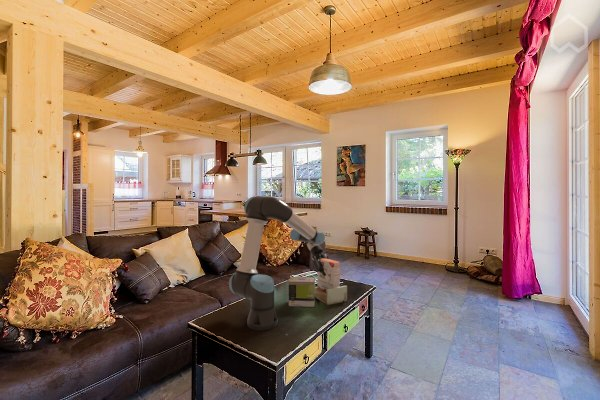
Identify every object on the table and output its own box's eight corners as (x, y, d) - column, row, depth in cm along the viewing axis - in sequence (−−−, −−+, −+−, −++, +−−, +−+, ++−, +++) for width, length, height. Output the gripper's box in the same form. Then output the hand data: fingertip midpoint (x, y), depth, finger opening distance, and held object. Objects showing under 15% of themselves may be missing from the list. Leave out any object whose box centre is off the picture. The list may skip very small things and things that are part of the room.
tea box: (315, 301, 178) (315, 276, 177) (314, 307, 168) (314, 282, 167) (290, 299, 179) (290, 275, 178) (288, 306, 169) (288, 281, 168)
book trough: (327, 305, 171) (327, 289, 171) (312, 295, 186) (312, 281, 186) (346, 300, 178) (347, 286, 178) (330, 292, 193) (330, 278, 193)
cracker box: (316, 291, 186) (317, 258, 185) (323, 289, 190) (324, 257, 189) (333, 297, 175) (334, 263, 175) (339, 295, 179) (340, 261, 179)
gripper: (322, 249, 200) (340, 279, 188) (301, 253, 188) (318, 285, 176) (328, 243, 195) (346, 273, 183) (306, 246, 184) (324, 278, 172)
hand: (332, 279), depth 180 cm, fingers closed on cracker box, 6 cm apart
